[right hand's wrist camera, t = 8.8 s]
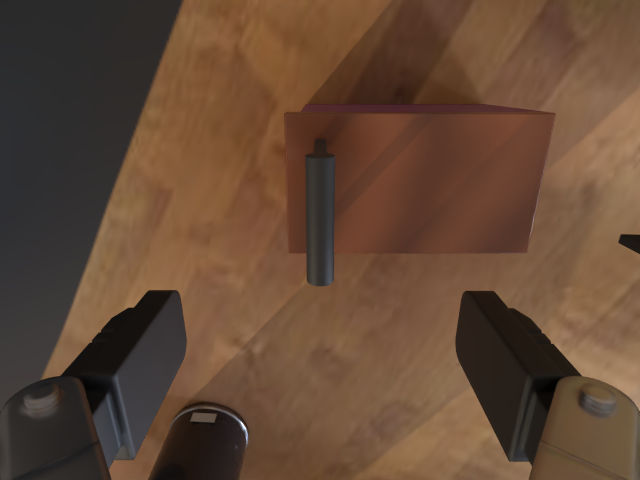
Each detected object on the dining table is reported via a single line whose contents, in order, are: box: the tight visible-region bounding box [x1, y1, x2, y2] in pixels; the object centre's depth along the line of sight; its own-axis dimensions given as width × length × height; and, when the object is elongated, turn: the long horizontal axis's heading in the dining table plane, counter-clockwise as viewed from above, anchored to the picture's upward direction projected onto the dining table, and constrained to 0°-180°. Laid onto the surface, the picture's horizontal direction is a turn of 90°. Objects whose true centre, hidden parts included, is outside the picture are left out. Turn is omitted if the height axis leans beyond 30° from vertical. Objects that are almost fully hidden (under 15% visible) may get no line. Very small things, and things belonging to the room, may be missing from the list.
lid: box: [284, 112, 556, 286], centre depth 23 cm, size 16×9×9 cm, turn 90°
